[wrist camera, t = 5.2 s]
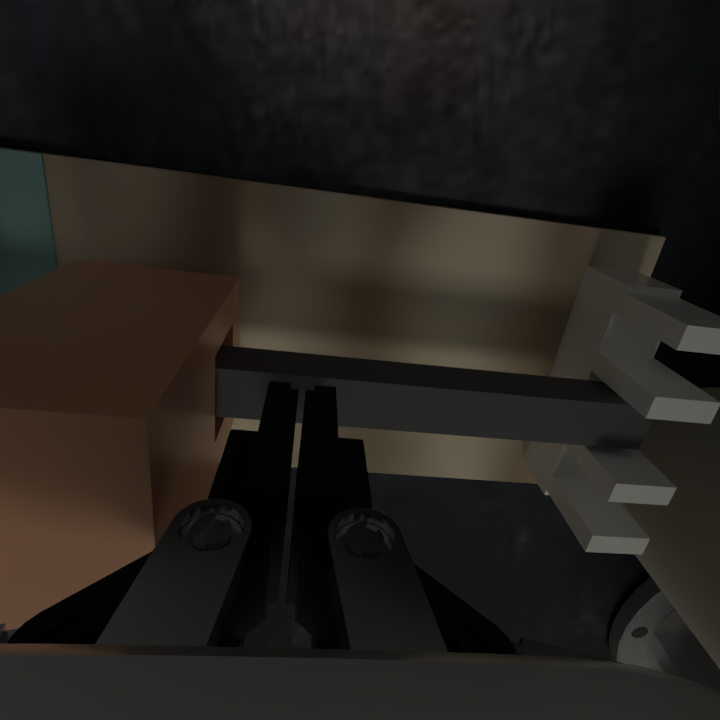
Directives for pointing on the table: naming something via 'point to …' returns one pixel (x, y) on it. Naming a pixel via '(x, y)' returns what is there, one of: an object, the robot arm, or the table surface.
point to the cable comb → (636, 386)
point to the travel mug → (686, 522)
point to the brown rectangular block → (103, 420)
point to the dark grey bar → (433, 398)
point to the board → (329, 276)
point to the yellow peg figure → (719, 104)
